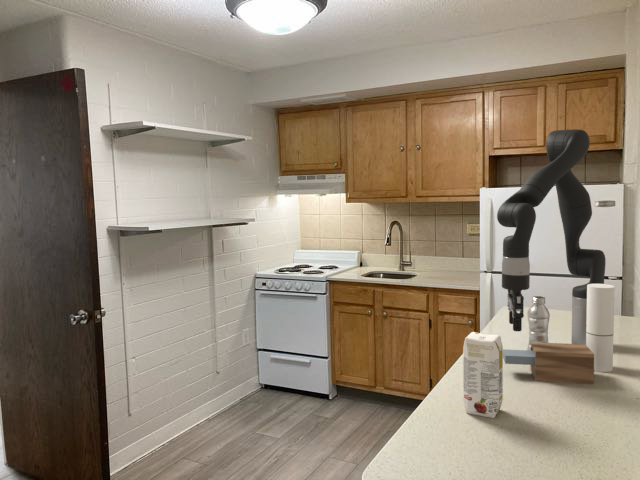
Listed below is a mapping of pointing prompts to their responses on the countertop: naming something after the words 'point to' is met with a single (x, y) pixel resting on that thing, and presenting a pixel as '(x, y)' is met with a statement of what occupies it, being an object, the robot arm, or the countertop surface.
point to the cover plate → (519, 357)
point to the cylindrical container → (600, 325)
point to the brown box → (563, 363)
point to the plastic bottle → (538, 321)
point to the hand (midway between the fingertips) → (515, 327)
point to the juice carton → (482, 374)
